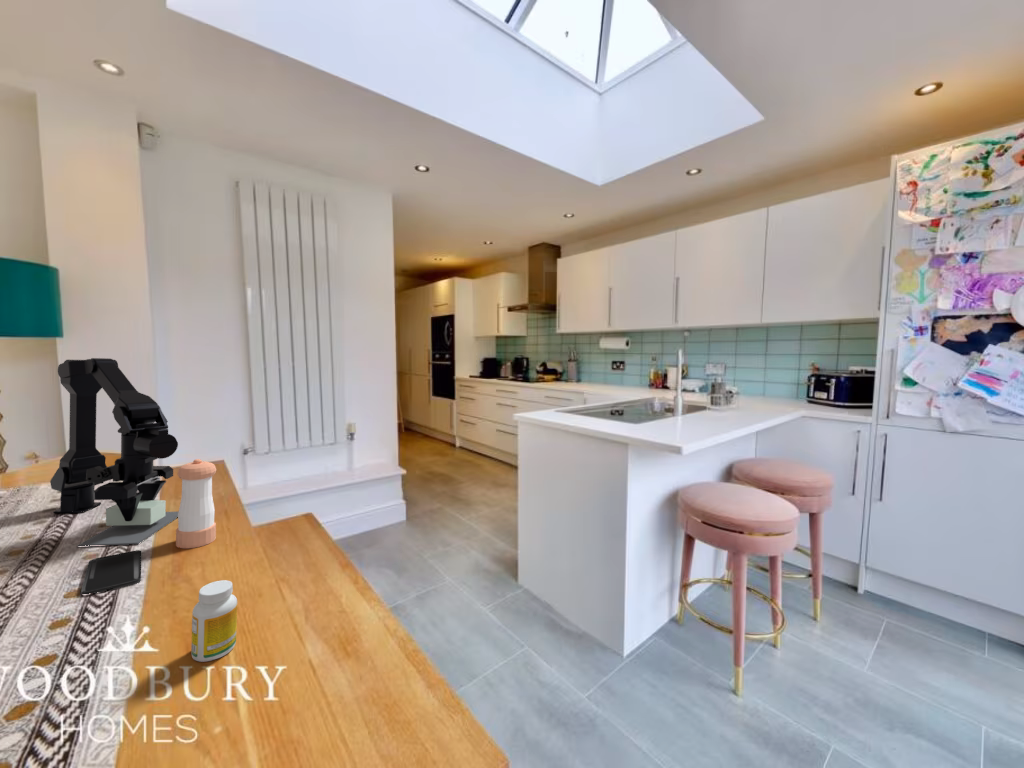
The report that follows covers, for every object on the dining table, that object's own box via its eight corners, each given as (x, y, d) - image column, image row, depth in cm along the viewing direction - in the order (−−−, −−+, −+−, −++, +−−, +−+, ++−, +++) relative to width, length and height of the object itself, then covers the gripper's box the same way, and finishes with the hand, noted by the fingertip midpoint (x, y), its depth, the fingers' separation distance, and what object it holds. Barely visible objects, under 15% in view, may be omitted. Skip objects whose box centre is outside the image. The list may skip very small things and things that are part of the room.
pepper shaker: (187, 535, 96) (188, 455, 95) (221, 534, 97) (223, 455, 96) (168, 549, 89) (169, 463, 88) (205, 547, 90) (207, 463, 89)
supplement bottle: (181, 661, 57) (182, 596, 57) (210, 636, 63) (212, 576, 62) (218, 664, 57) (219, 599, 57) (244, 639, 62) (246, 578, 62)
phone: (141, 549, 87) (140, 579, 75) (141, 554, 87) (140, 585, 76) (88, 559, 81) (79, 593, 70) (88, 565, 81) (79, 600, 70)
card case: (165, 515, 101) (165, 500, 101) (150, 524, 96) (150, 508, 96) (123, 516, 99) (123, 500, 99) (105, 525, 94) (106, 508, 94)
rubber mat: (136, 514, 106) (136, 512, 106) (184, 513, 108) (184, 511, 108) (77, 547, 87) (77, 545, 87) (138, 544, 90) (138, 542, 90)
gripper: (124, 444, 104) (123, 503, 105) (63, 462, 86) (63, 534, 87) (174, 444, 107) (174, 502, 107) (126, 462, 88) (125, 531, 89)
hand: (136, 516), depth 98 cm, fingers closed on card case, 5 cm apart
